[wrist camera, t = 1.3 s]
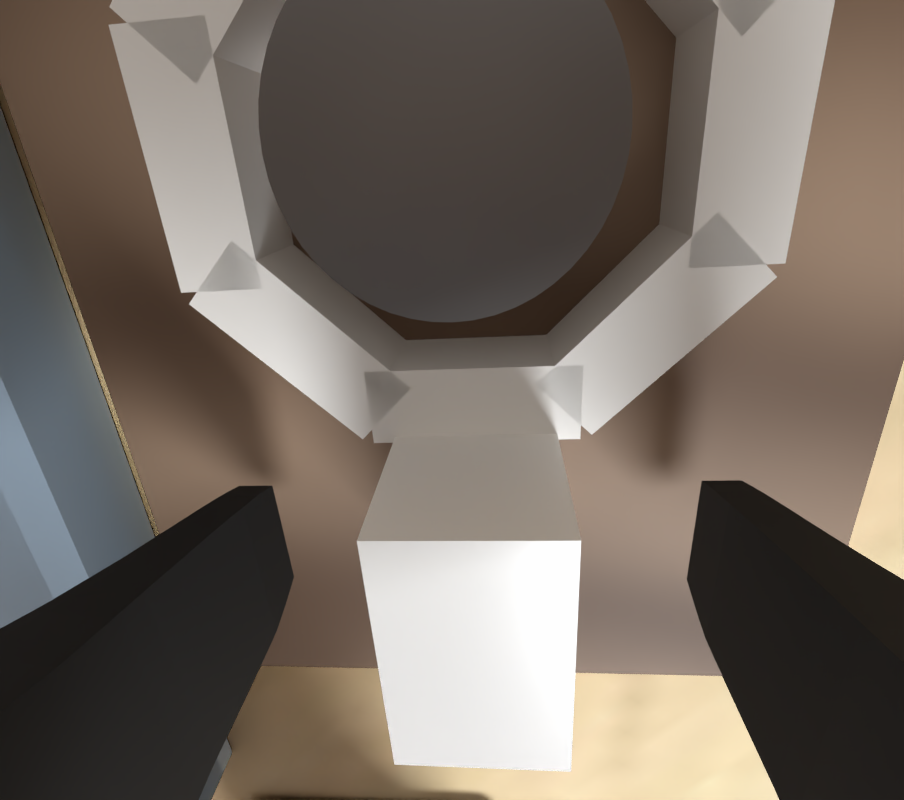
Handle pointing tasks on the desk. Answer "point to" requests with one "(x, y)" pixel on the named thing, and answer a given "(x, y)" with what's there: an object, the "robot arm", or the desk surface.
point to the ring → (477, 349)
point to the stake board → (617, 476)
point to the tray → (54, 430)
